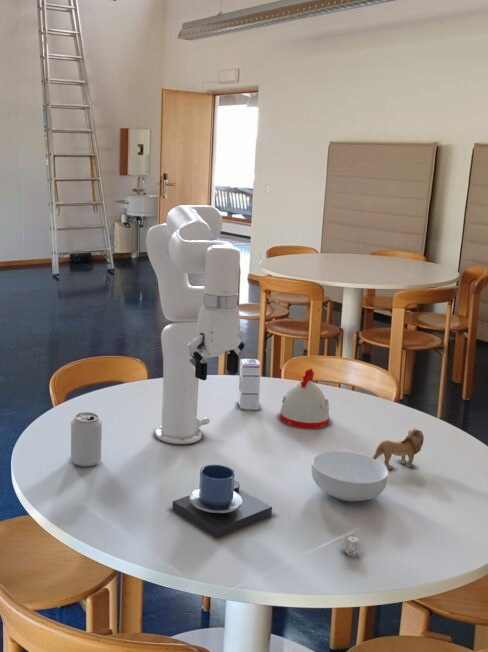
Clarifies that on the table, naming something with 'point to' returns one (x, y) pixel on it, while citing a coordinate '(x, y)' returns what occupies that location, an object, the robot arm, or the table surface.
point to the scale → (224, 514)
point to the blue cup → (216, 484)
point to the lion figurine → (401, 448)
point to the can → (86, 439)
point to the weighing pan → (204, 506)
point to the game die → (352, 546)
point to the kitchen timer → (305, 404)
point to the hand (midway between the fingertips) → (216, 375)
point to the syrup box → (249, 384)
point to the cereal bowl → (349, 475)
